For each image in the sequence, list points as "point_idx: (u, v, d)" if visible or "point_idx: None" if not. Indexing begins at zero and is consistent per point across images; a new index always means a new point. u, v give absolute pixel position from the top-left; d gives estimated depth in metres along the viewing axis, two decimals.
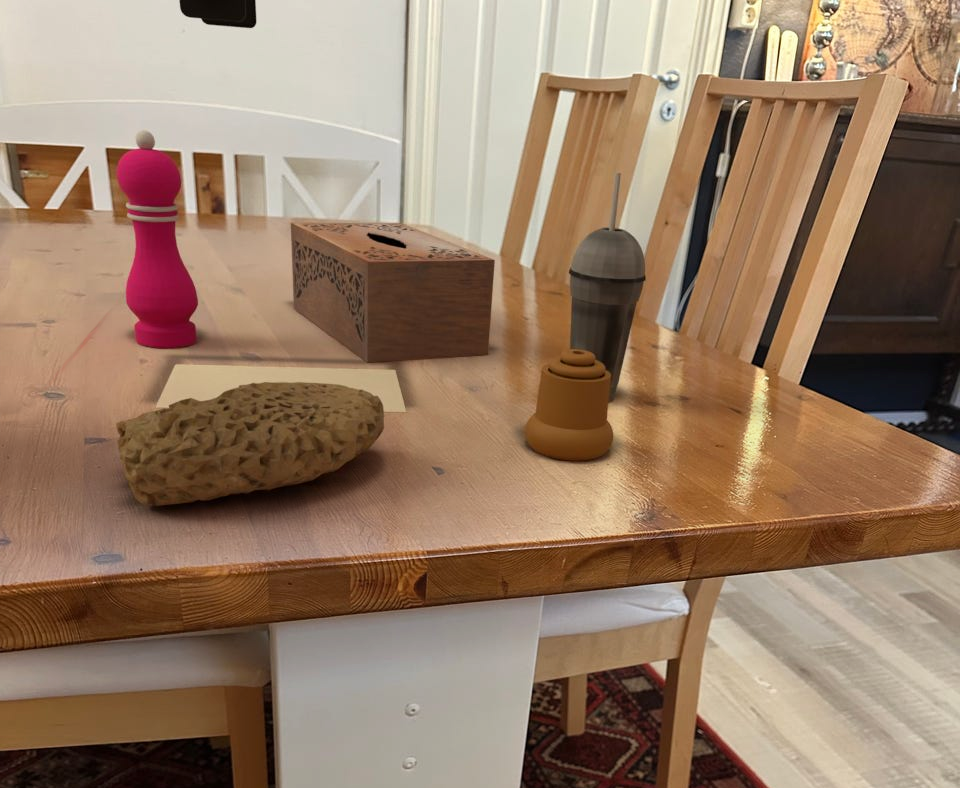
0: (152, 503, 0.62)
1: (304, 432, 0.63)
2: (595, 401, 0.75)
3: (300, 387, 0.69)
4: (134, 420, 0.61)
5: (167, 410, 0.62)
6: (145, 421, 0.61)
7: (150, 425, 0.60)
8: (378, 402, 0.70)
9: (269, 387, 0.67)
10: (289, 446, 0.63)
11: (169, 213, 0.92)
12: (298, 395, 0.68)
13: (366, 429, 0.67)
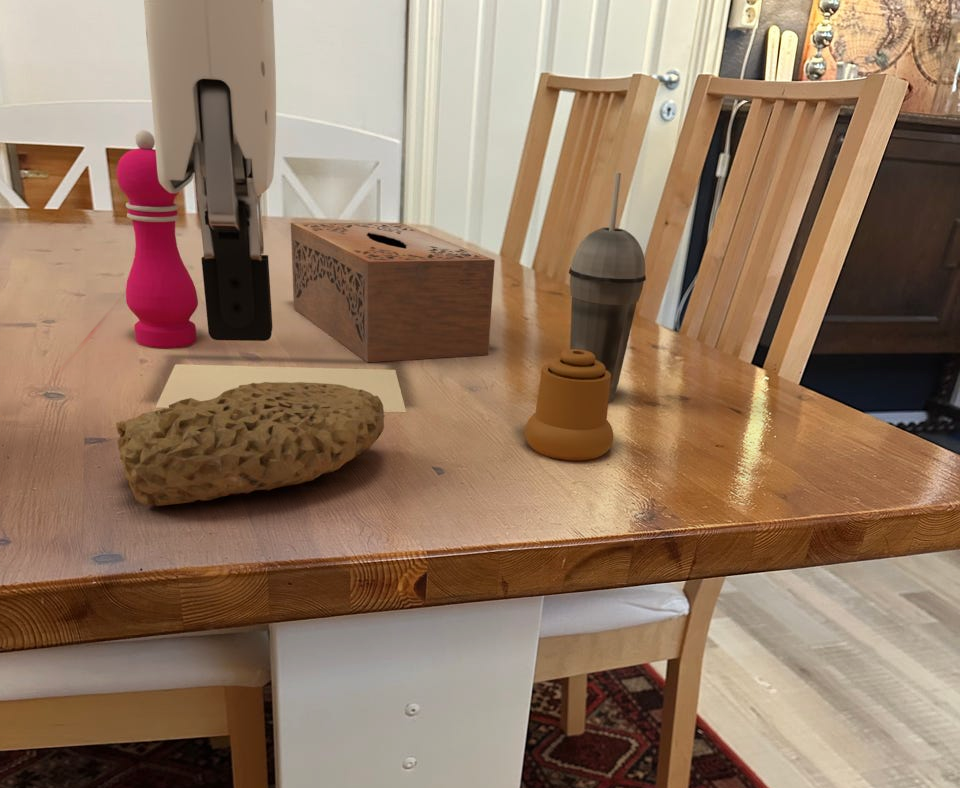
0: (152, 503, 0.62)
1: (304, 432, 0.63)
2: (595, 401, 0.75)
3: (300, 387, 0.69)
4: (134, 420, 0.61)
5: (167, 410, 0.62)
6: (145, 421, 0.61)
7: (150, 425, 0.60)
8: (378, 402, 0.70)
9: (269, 387, 0.67)
10: (289, 446, 0.63)
11: (169, 213, 0.92)
12: (298, 395, 0.68)
13: (366, 429, 0.67)
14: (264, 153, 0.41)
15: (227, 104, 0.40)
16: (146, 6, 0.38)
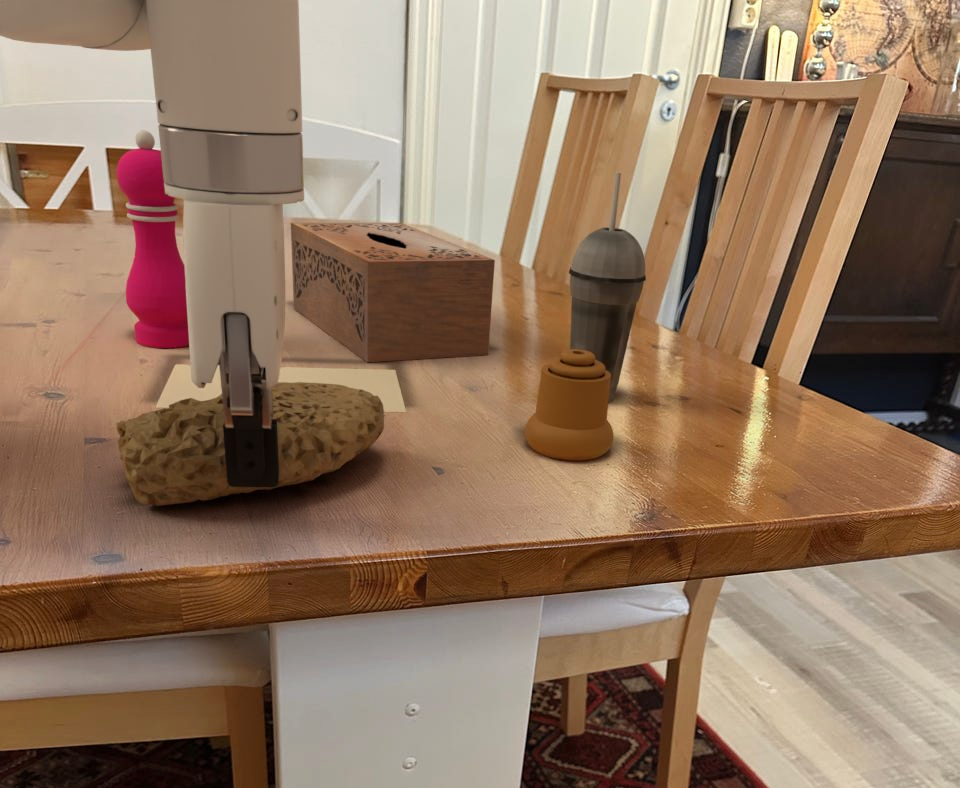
0: (152, 503, 0.62)
1: (304, 432, 0.63)
2: (595, 401, 0.75)
3: (300, 387, 0.69)
4: (134, 420, 0.61)
5: (167, 410, 0.62)
6: (145, 421, 0.61)
7: (150, 425, 0.60)
8: (378, 402, 0.70)
9: None
10: (289, 446, 0.63)
11: (169, 213, 0.92)
12: (298, 395, 0.68)
13: (366, 429, 0.67)
14: (275, 362, 0.52)
15: (247, 326, 0.51)
16: (186, 260, 0.49)
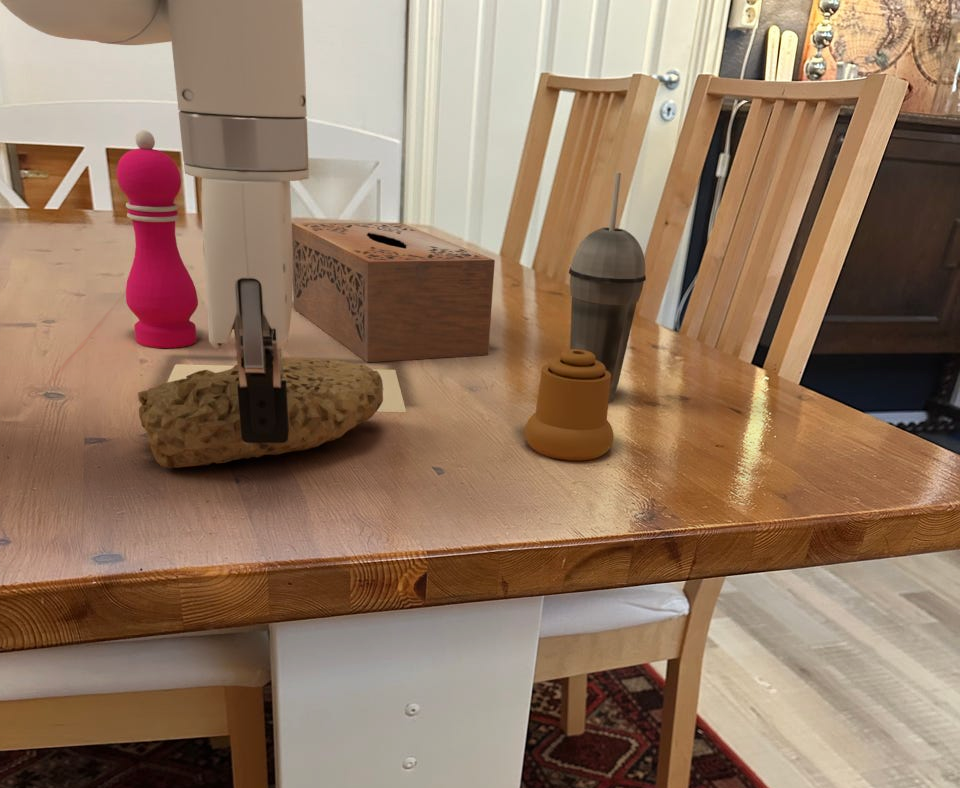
0: (171, 465, 0.68)
1: (310, 401, 0.69)
2: (595, 401, 0.75)
3: (306, 362, 0.75)
4: (155, 389, 0.67)
5: (185, 380, 0.68)
6: (165, 390, 0.67)
7: (170, 393, 0.66)
8: (377, 376, 0.76)
9: None
10: (296, 413, 0.68)
11: (169, 213, 0.92)
12: (304, 369, 0.74)
13: (366, 400, 0.73)
14: (284, 324, 0.58)
15: (259, 292, 0.57)
16: (204, 231, 0.55)
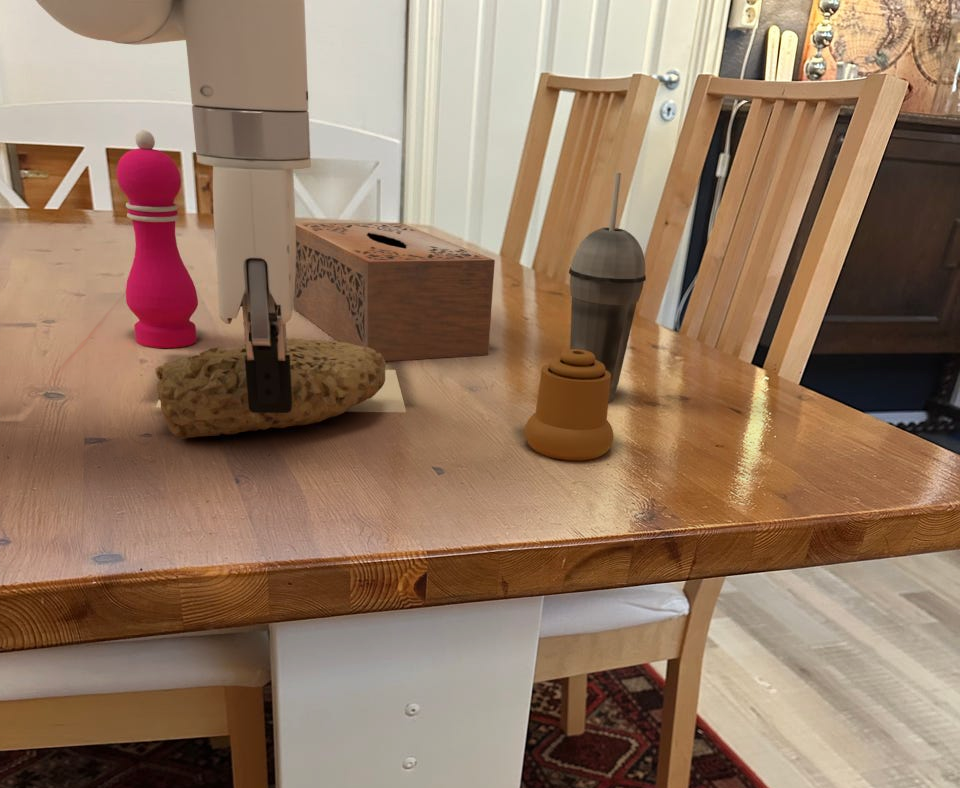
0: (184, 435, 0.74)
1: (312, 377, 0.74)
2: (595, 401, 0.75)
3: (313, 343, 0.81)
4: (170, 364, 0.73)
5: (198, 356, 0.73)
6: (179, 365, 0.72)
7: (183, 368, 0.72)
8: (380, 357, 0.81)
9: None
10: (299, 389, 0.74)
11: (169, 213, 0.92)
12: (310, 349, 0.79)
13: (367, 378, 0.78)
14: (288, 300, 0.63)
15: (265, 271, 0.62)
16: (215, 215, 0.60)
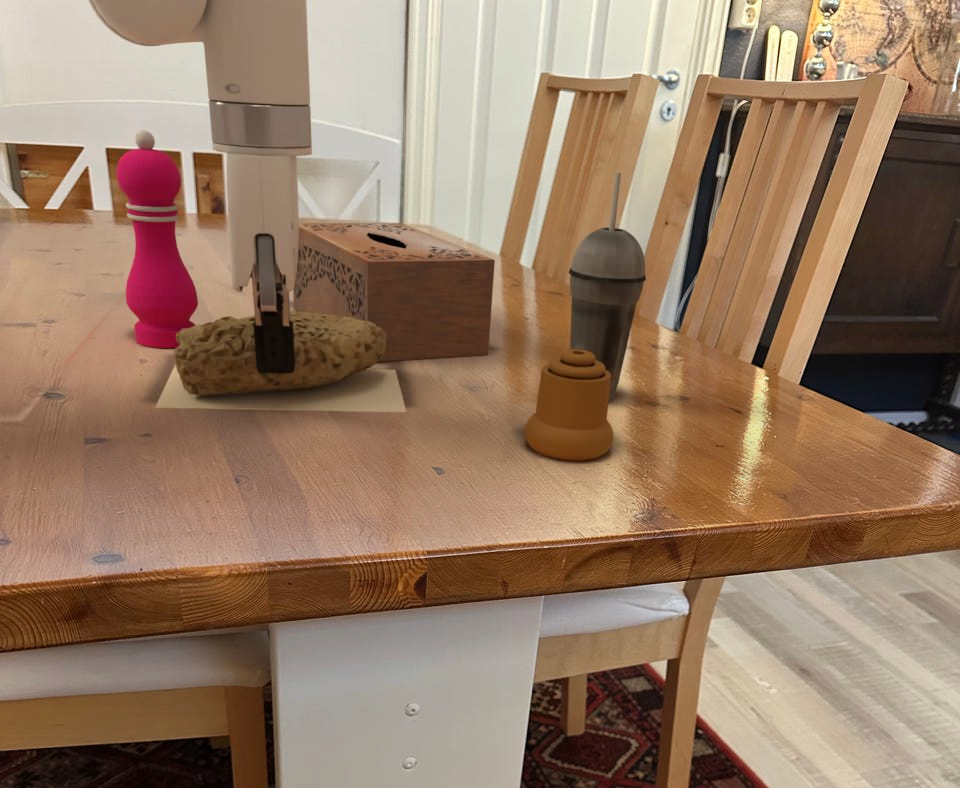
0: (196, 393, 0.84)
1: (311, 345, 0.83)
2: (595, 401, 0.75)
3: (319, 316, 0.90)
4: (186, 329, 0.82)
5: (211, 323, 0.83)
6: (194, 330, 0.82)
7: (196, 332, 0.81)
8: (379, 330, 0.90)
9: (293, 313, 0.87)
10: (298, 354, 0.83)
11: (169, 213, 0.92)
12: (315, 321, 0.88)
13: (363, 348, 0.86)
14: (292, 271, 0.72)
15: (272, 245, 0.71)
16: (229, 196, 0.69)
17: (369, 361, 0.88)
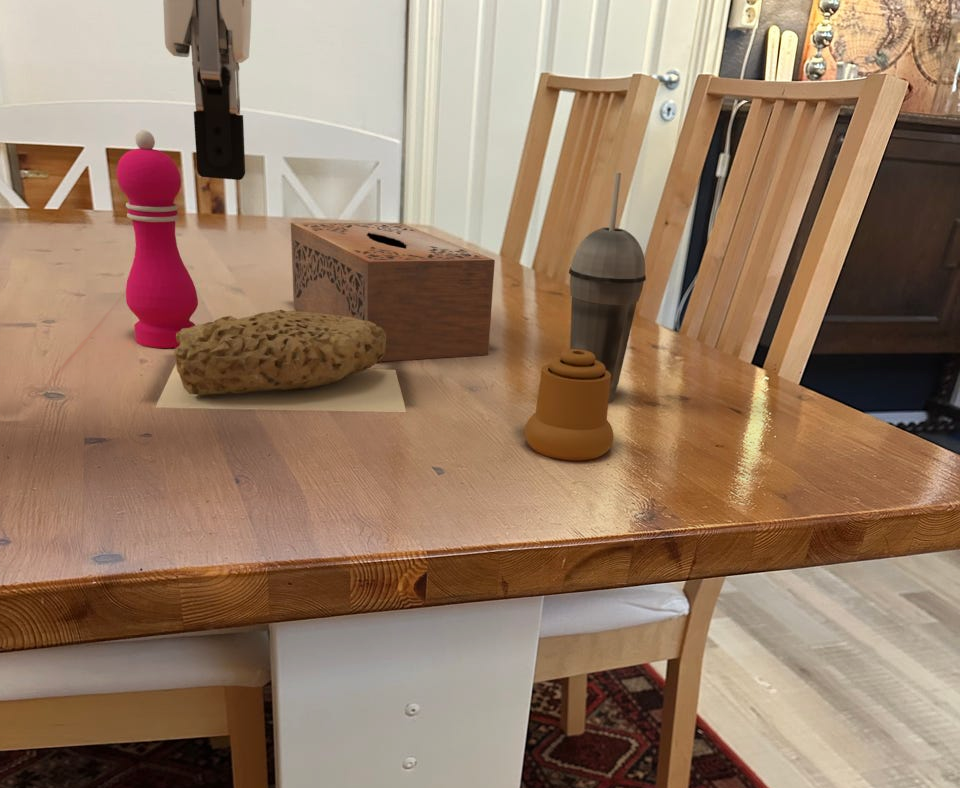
0: (196, 393, 0.84)
1: (311, 344, 0.83)
2: (595, 401, 0.75)
3: (319, 316, 0.90)
4: (186, 329, 0.82)
5: (211, 323, 0.83)
6: (194, 330, 0.82)
7: (196, 332, 0.81)
8: (379, 330, 0.90)
9: (293, 313, 0.87)
10: (298, 354, 0.83)
11: (169, 213, 0.92)
12: (315, 321, 0.88)
13: (363, 348, 0.87)
14: (241, 27, 0.58)
15: None
16: None
17: (369, 361, 0.89)
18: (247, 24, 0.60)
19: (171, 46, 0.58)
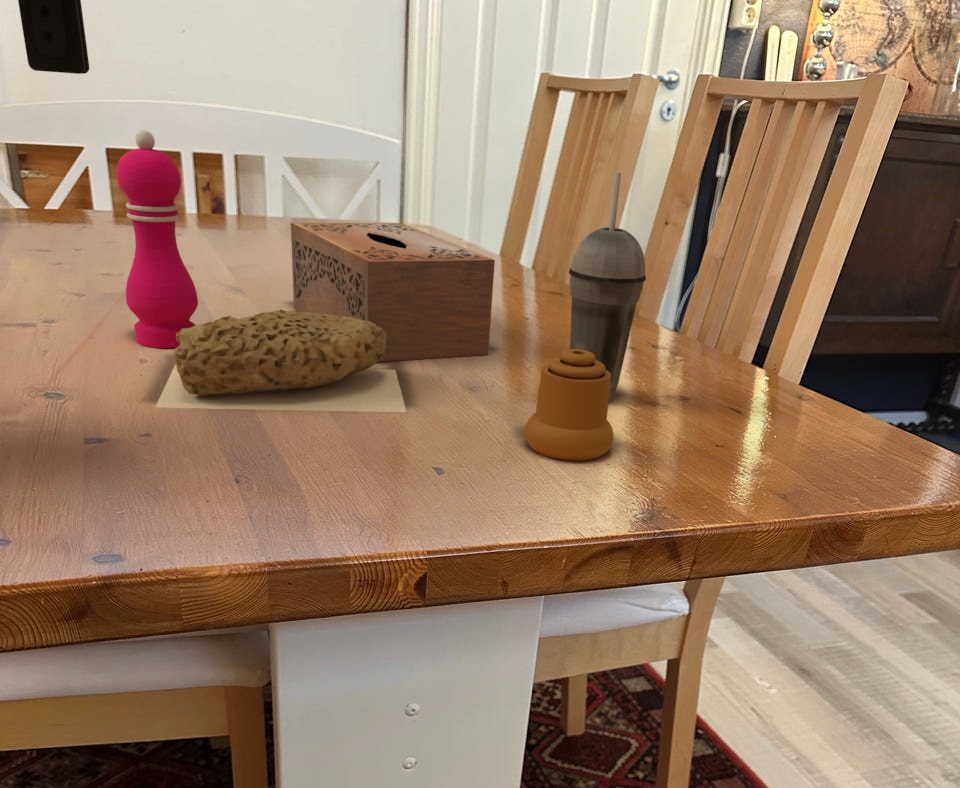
0: (196, 393, 0.84)
1: (311, 344, 0.83)
2: (595, 401, 0.75)
3: (319, 316, 0.90)
4: (186, 329, 0.82)
5: (211, 323, 0.83)
6: (194, 330, 0.82)
7: (196, 332, 0.81)
8: (379, 330, 0.90)
9: (293, 313, 0.87)
10: (298, 354, 0.83)
11: (169, 213, 0.92)
12: (315, 321, 0.88)
13: (363, 348, 0.87)
14: None
15: None
16: None
17: (369, 361, 0.89)
18: None
19: None
